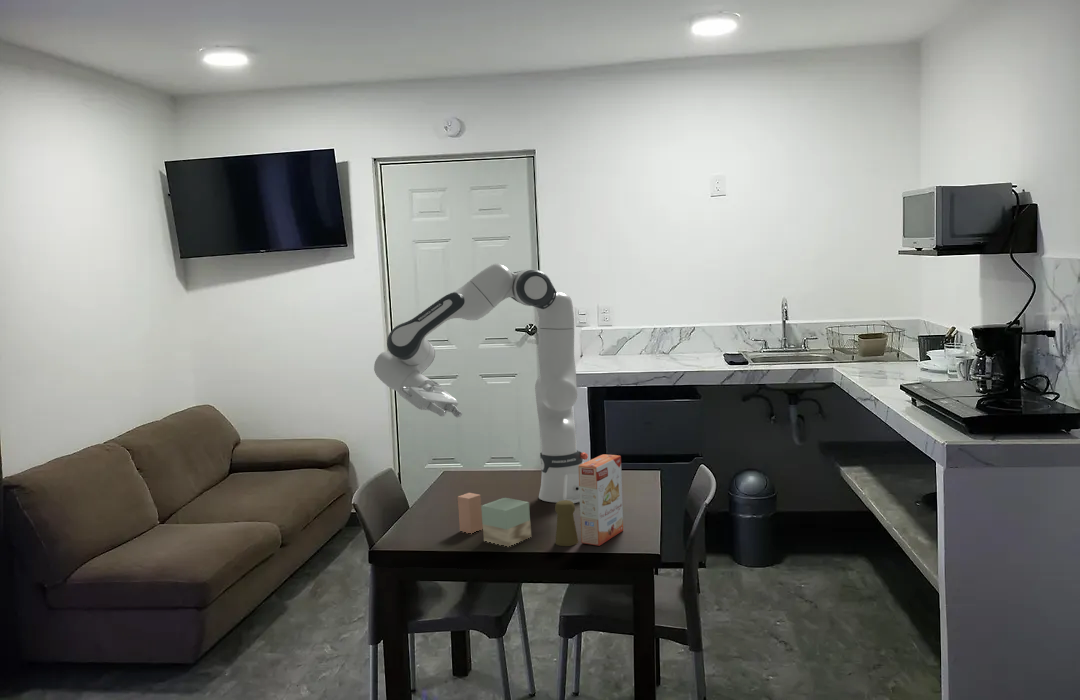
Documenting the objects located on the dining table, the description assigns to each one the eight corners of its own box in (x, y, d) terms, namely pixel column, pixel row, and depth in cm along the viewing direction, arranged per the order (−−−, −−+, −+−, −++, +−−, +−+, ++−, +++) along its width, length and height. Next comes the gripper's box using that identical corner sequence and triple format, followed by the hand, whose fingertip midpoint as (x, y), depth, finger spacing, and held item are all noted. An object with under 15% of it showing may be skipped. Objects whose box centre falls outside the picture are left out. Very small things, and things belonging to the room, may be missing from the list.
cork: (554, 539, 223) (551, 498, 222) (576, 537, 223) (574, 497, 222) (556, 547, 217) (554, 505, 216) (579, 545, 217) (577, 503, 216)
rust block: (471, 527, 237) (469, 492, 236) (482, 529, 234) (480, 494, 233) (460, 531, 234) (457, 496, 233) (471, 534, 231) (468, 498, 230)
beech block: (506, 532, 231) (505, 515, 231) (531, 538, 225) (530, 520, 225) (483, 542, 225) (482, 524, 224) (508, 548, 219) (507, 529, 218)
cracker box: (601, 547, 215) (597, 466, 213) (580, 544, 218) (576, 465, 216) (625, 530, 227) (621, 454, 224) (605, 528, 230) (601, 453, 228)
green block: (505, 515, 231) (504, 497, 230) (530, 520, 225) (528, 502, 225) (482, 524, 224) (481, 505, 224) (507, 529, 218) (506, 510, 218)
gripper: (404, 377, 237) (439, 404, 232) (440, 382, 256) (473, 407, 250) (393, 396, 238) (428, 423, 232) (430, 400, 256) (463, 425, 251)
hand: (452, 415), depth 241 cm, fingers open, 8 cm apart
